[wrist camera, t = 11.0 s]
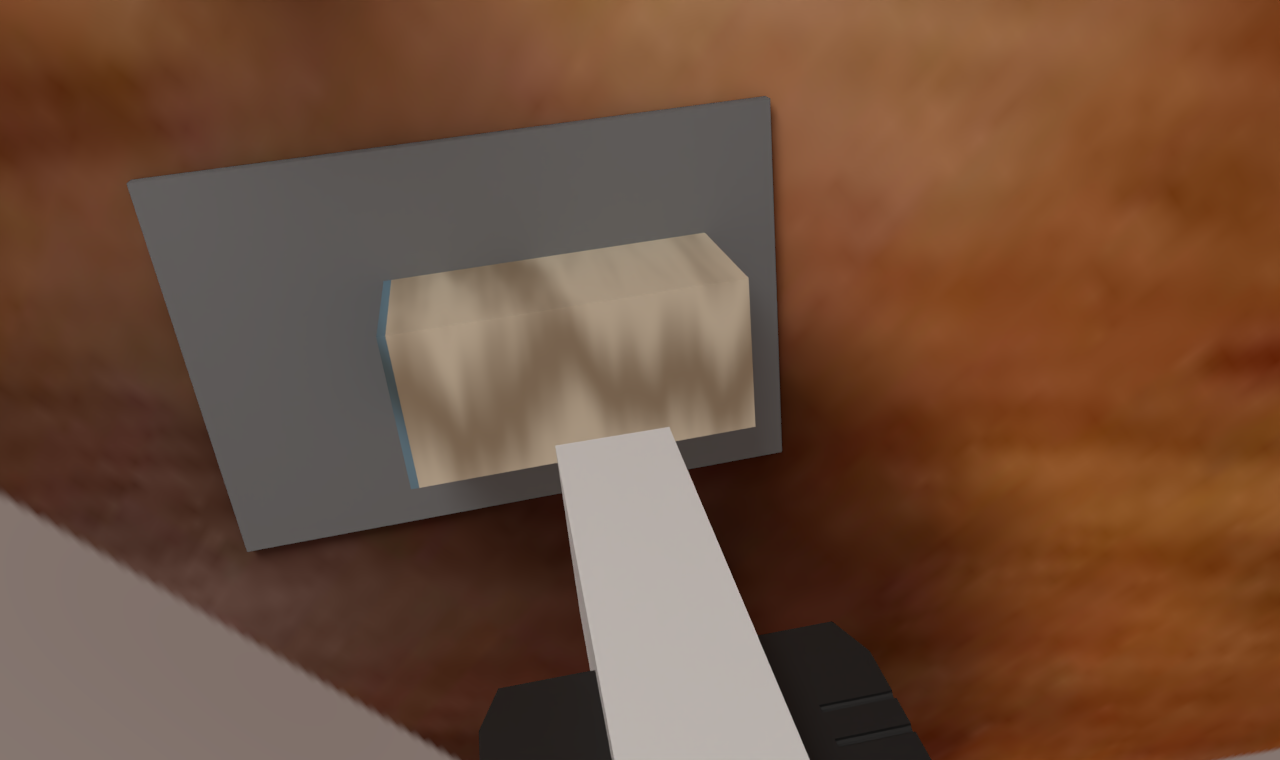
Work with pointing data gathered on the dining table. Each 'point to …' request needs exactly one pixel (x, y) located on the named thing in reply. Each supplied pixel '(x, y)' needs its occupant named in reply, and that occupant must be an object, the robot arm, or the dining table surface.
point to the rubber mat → (413, 246)
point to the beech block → (565, 354)
